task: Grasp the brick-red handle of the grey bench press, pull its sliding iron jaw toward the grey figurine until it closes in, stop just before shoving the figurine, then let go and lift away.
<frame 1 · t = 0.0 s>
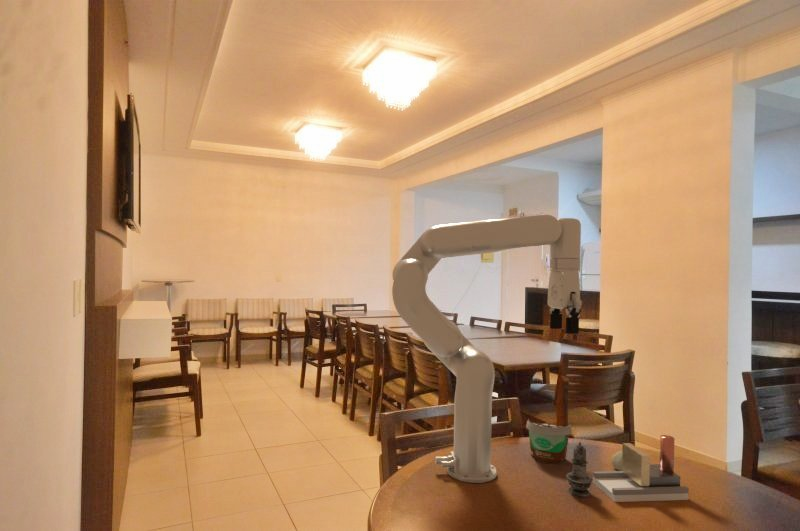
hand: (563, 330, 127), 37 cm above the table, tool pointing down, fingers open, 9 cm apart
press bed: (638, 490, 116), on the table
grey figurine: (579, 493, 115), on the table
food container: (547, 461, 134), on the table
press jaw: (652, 460, 117), point 7 cm above the table, slide at 0.0 cm
sea urchin shell: (630, 471, 129), on the table
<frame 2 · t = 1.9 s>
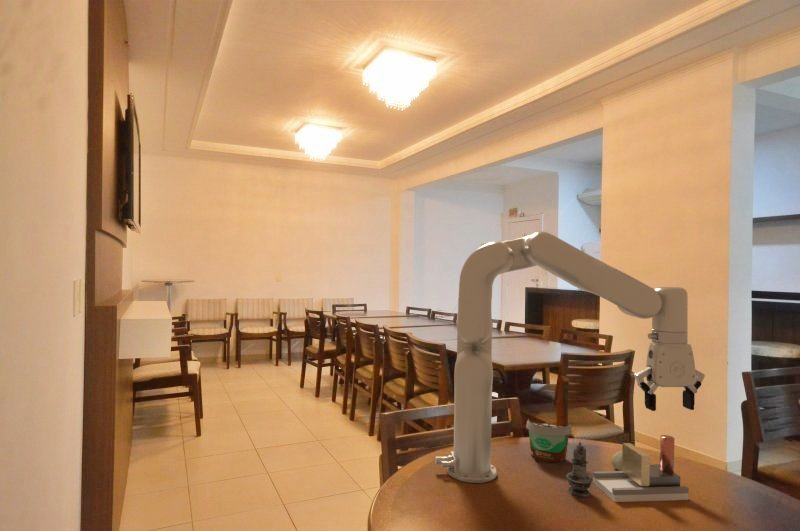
hand: (669, 408, 117), 20 cm above the table, tool pointing down, fingers open, 9 cm apart
nothing on the table moved.
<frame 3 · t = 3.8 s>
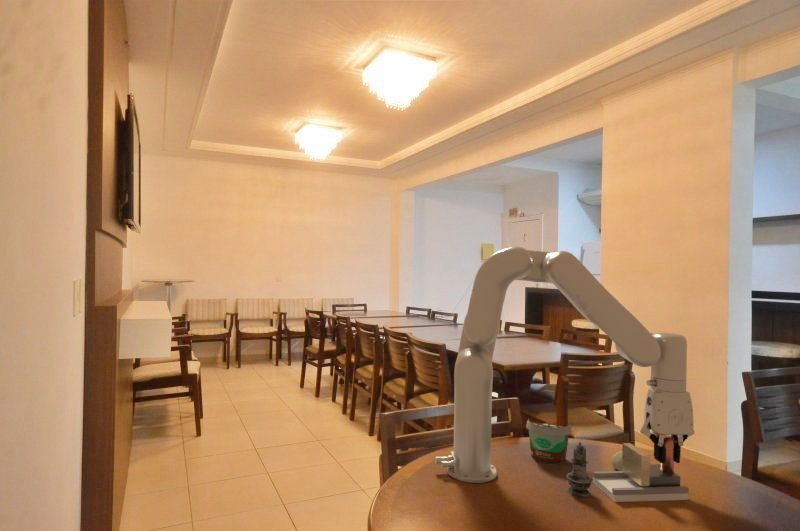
hand: (666, 460, 117), 7 cm above the table, tool pointing down, fingers closed on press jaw, 3 cm apart
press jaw: (652, 460, 117), point 7 cm above the table, slide at 0.0 cm, touching gripper
everything else where it was.
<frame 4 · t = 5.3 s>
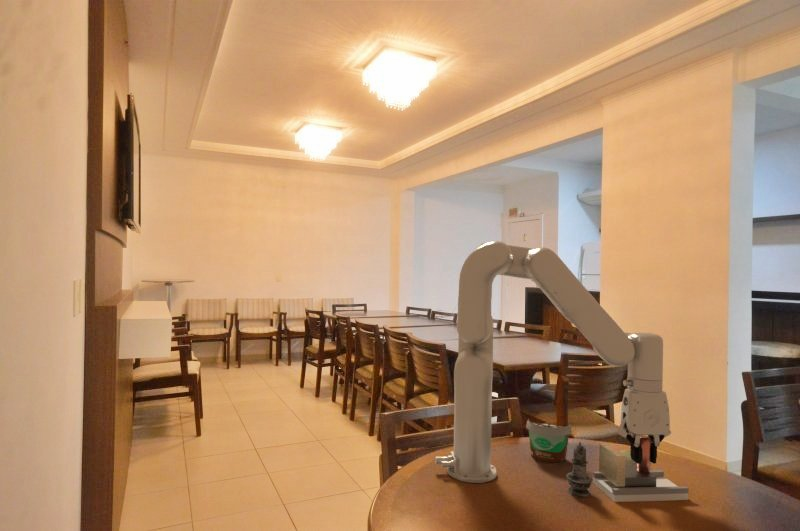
hand: (643, 460, 117), 7 cm above the table, tool pointing down, fingers closed on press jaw, 3 cm apart
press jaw: (628, 460, 116), point 7 cm above the table, slide at 6.0 cm, touching gripper
everything else where it was.
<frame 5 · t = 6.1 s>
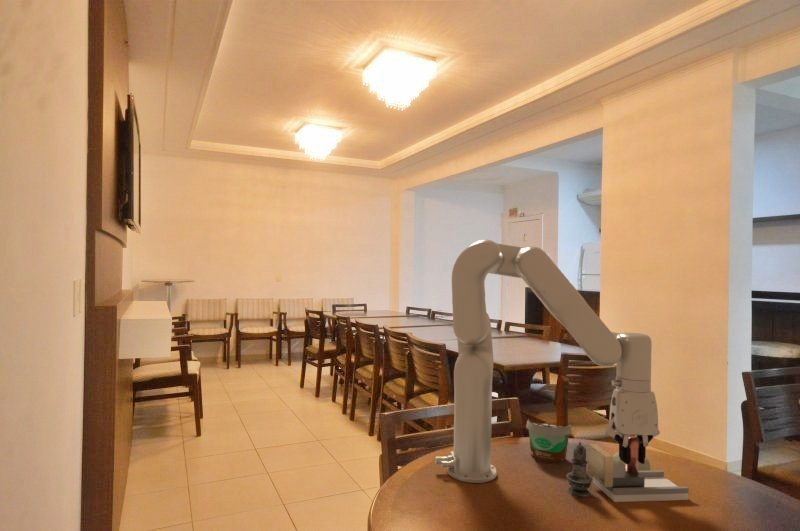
hand: (632, 460, 116), 7 cm above the table, tool pointing down, fingers closed on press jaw, 3 cm apart
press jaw: (617, 460, 116), point 7 cm above the table, slide at 8.9 cm, touching gripper
everything else where it was.
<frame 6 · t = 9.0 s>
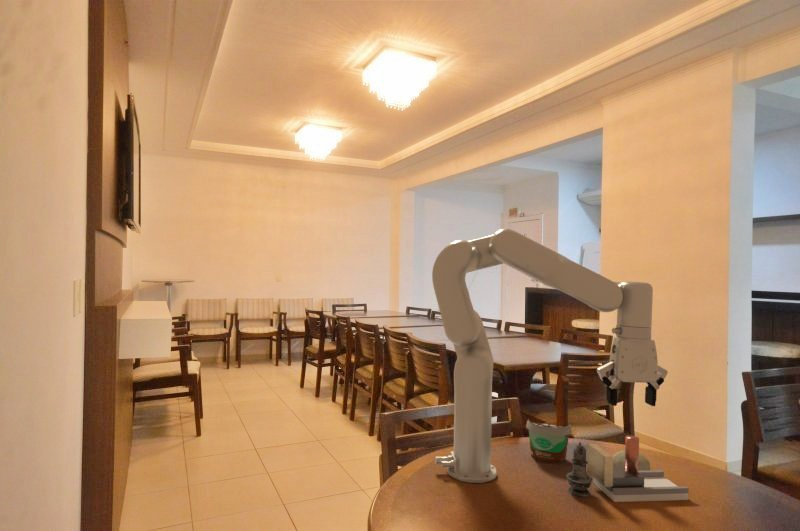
hand: (631, 404, 116), 21 cm above the table, tool pointing down, fingers open, 9 cm apart
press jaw: (616, 460, 116), point 7 cm above the table, slide at 9.0 cm
everything else where it was.
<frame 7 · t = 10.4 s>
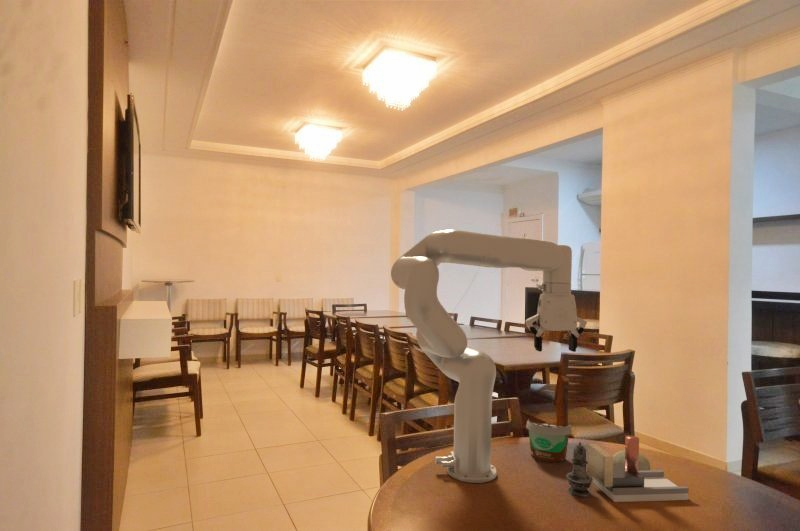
hand: (555, 350, 135), 30 cm above the table, tool pointing down, fingers open, 9 cm apart
nothing on the table moved.
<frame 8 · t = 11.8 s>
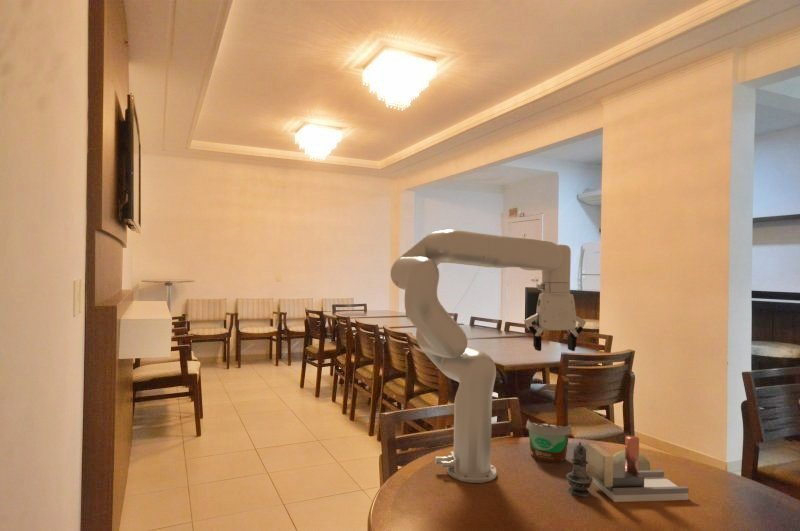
hand: (554, 350, 135), 30 cm above the table, tool pointing down, fingers open, 9 cm apart
nothing on the table moved.
at the end: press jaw slide at 9.0 cm; grey figurine moved 0.2 cm from its start; grey figurine tilted 0° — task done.
